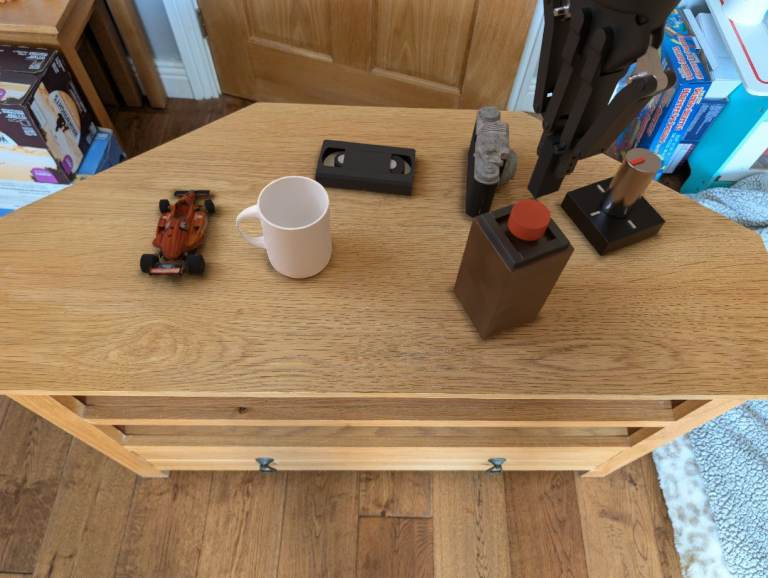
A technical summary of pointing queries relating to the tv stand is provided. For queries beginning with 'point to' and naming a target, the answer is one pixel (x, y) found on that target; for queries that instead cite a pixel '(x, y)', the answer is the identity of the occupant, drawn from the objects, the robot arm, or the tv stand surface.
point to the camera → (488, 161)
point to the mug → (292, 225)
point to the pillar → (508, 272)
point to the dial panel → (609, 219)
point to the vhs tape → (366, 167)
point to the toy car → (179, 235)
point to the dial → (630, 182)
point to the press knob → (529, 219)
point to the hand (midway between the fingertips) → (542, 189)
